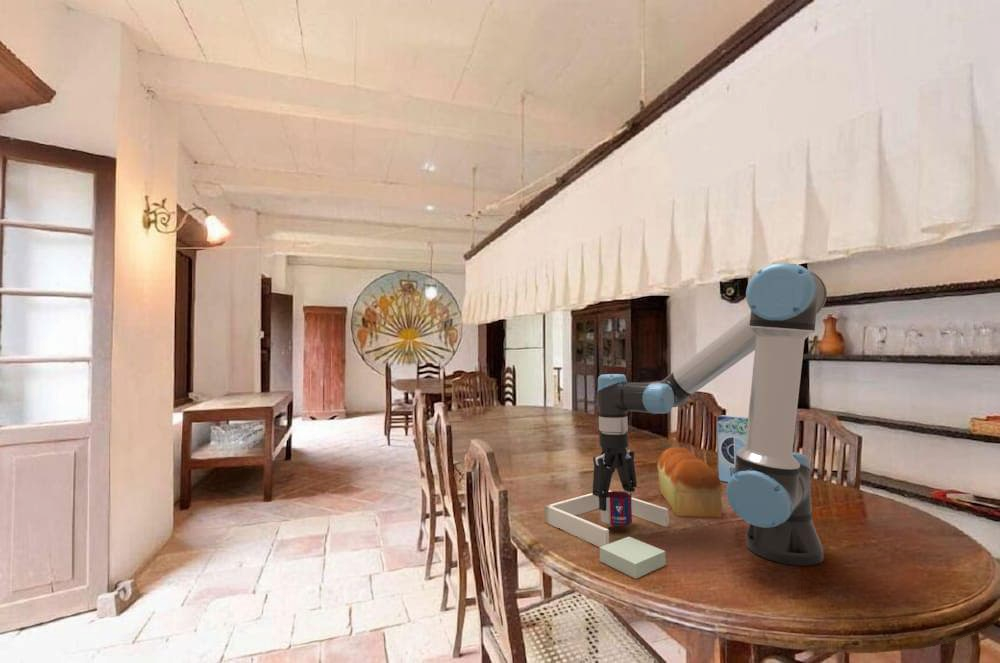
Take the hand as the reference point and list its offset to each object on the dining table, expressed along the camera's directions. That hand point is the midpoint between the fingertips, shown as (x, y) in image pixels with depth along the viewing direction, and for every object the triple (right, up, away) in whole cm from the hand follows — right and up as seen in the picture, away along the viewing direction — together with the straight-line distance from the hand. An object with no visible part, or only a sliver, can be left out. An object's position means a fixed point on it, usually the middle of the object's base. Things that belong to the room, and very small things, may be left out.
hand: (616, 518), depth 121 cm
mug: (+1, -1, +1) cm, 1 cm away
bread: (+27, -3, +19) cm, 33 cm away
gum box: (+55, -3, +35) cm, 65 cm away
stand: (-2, -2, -20) cm, 20 cm away
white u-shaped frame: (-2, -3, +3) cm, 4 cm away
